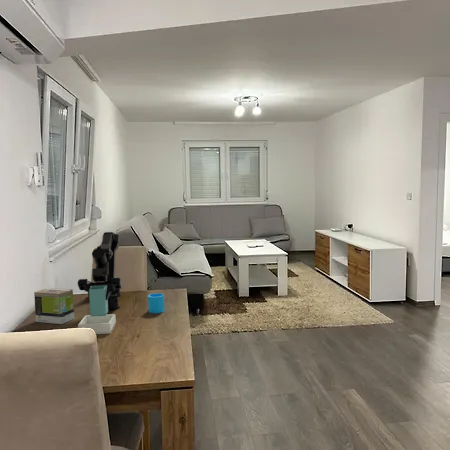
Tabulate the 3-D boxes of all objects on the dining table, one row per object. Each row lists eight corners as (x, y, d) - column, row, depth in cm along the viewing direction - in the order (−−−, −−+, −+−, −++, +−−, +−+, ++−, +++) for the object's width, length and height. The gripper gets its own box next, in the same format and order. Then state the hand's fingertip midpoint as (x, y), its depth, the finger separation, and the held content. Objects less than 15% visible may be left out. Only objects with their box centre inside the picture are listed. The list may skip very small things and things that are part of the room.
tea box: (75, 318, 212) (73, 288, 210) (61, 325, 202) (59, 293, 201) (49, 316, 216) (48, 286, 215) (35, 322, 207) (33, 291, 206)
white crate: (86, 324, 202) (85, 315, 201) (115, 323, 203) (115, 314, 202) (78, 334, 188) (78, 324, 188) (110, 333, 189) (110, 323, 189)
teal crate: (93, 312, 198) (92, 286, 197) (108, 311, 199) (107, 285, 198) (90, 316, 192) (89, 289, 190) (105, 315, 192) (104, 289, 191)
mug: (166, 312, 220) (165, 296, 219) (149, 314, 217) (149, 297, 217) (161, 306, 231) (161, 290, 231) (146, 307, 229) (145, 292, 228)
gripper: (77, 261, 196) (72, 291, 186) (119, 260, 198) (117, 290, 188) (82, 275, 204) (77, 304, 195) (122, 273, 206) (120, 302, 196)
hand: (98, 300), depth 193 cm, fingers closed on teal crate, 7 cm apart
